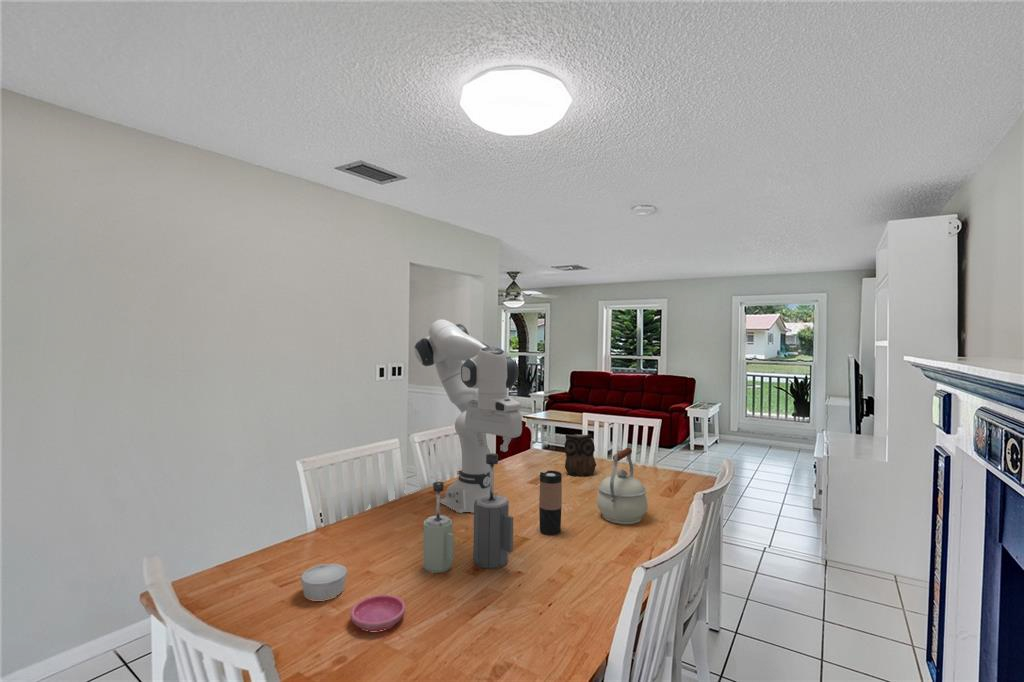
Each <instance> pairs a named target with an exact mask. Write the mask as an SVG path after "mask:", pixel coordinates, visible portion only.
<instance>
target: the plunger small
mask: <svg viewBox="0 0 1024 682" xmlns="http://www.w3.org/2000/svg"><path fill="white" fill-rule="evenodd" d="M444 484H445V483H444V482H443V481H434V482H433V483H432V490H433V492H436V511H435V512H436V513H435V516H436V518H440V515H441V504H440V500H441V492H443V491H444Z"/></svg>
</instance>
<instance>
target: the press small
mask: <svg viewBox="0 0 1024 682" xmlns="http://www.w3.org/2000/svg"><path fill="white" fill-rule="evenodd" d="M422 529H423V535H422V537H423V539H422V540H423V543H422V544H423V545H422V547H423V548H422V549H423V550H422V552H423V553H422V558H423V559H422V566H423V569H424V571H425V570H426V571H425V572H427V571H429V572H428V573H430V572H433V573H432V574H441V573H440V572H442V573H445V572H444V571H446V572H448V571H449V570H450V569H451V568H452V562H453V560H454V559H455V533H453V519H452V518H450V517H449V516H447V515H443V514H440V518H436V515H432V516H428V517H426V519H424V521H423V528H422ZM447 570H448V571H447Z"/></svg>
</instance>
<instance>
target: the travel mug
mask: <svg viewBox="0 0 1024 682" xmlns="http://www.w3.org/2000/svg"><path fill="white" fill-rule="evenodd" d="M562 476H563V475H562V472H560V471H557V470H547V471H545V472H543V471H540V473H539V495H538V496H539V498H538V499H539V504H538V507H539V509H538V510H539V516H538V517H539V532H540V533H541V534H543V535H545V536H557V535H559V534H560V533H561V528H562V524H561V523H562V507H563V506H562V502H563V501H562V499H563V497H562V496H563V495H562V485H563V484H562V483H563V481H562Z"/></svg>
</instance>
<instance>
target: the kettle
mask: <svg viewBox="0 0 1024 682" xmlns="http://www.w3.org/2000/svg"><path fill="white" fill-rule="evenodd" d="M632 453H633V451H632V449H631V447H626V448H625V449H622V450H620V451H619V452H617V453H615V454H613V456H612V459H613V467H612V471H611V474H610V475H609V476H607V477H605V478H604V479H603V480H602V481H601V483H600V484H599V485H598V487H597V489H598V493H597V498H596V504H597V508H598V509H599V511H600V512H601V514H602V517H603V518H605V520H606V521H608V522H611V523H614V524H617V523H618V524H619V525H635V524H637V523H639V522H640V521H641V520H642V517H643V516H644V514H645V513H646V512H647V510H648V500H647V496H646V494H647V489H646V487H644V484H643V483H642V482H641V481H640V480H639V479H637V478H635V477H634V465H633V461H632V457H631V455H632ZM625 458H627V462H628V465H629V473H628V472H627V471H626V470H625V469H620V470H618V471H617V469H618V466H619V465H618V463H619V461H620V460H622V459H625ZM628 474H629V475H628ZM618 524H617V525H618Z"/></svg>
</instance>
